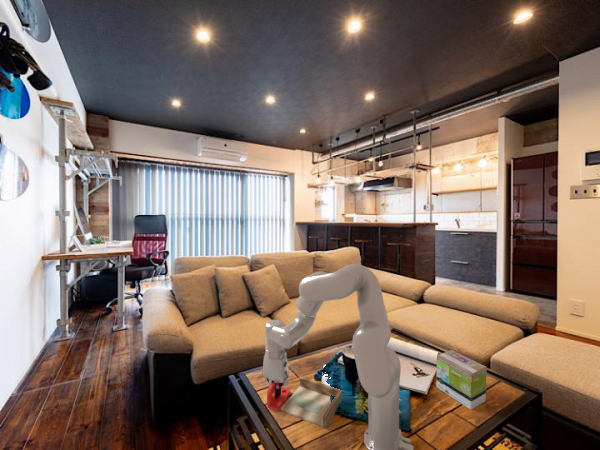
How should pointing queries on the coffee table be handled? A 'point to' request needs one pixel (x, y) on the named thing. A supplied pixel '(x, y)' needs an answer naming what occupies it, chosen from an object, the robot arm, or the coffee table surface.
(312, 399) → the tray
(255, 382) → the coffee table surface
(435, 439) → the coffee table surface
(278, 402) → the bracket
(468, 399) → the tea box
